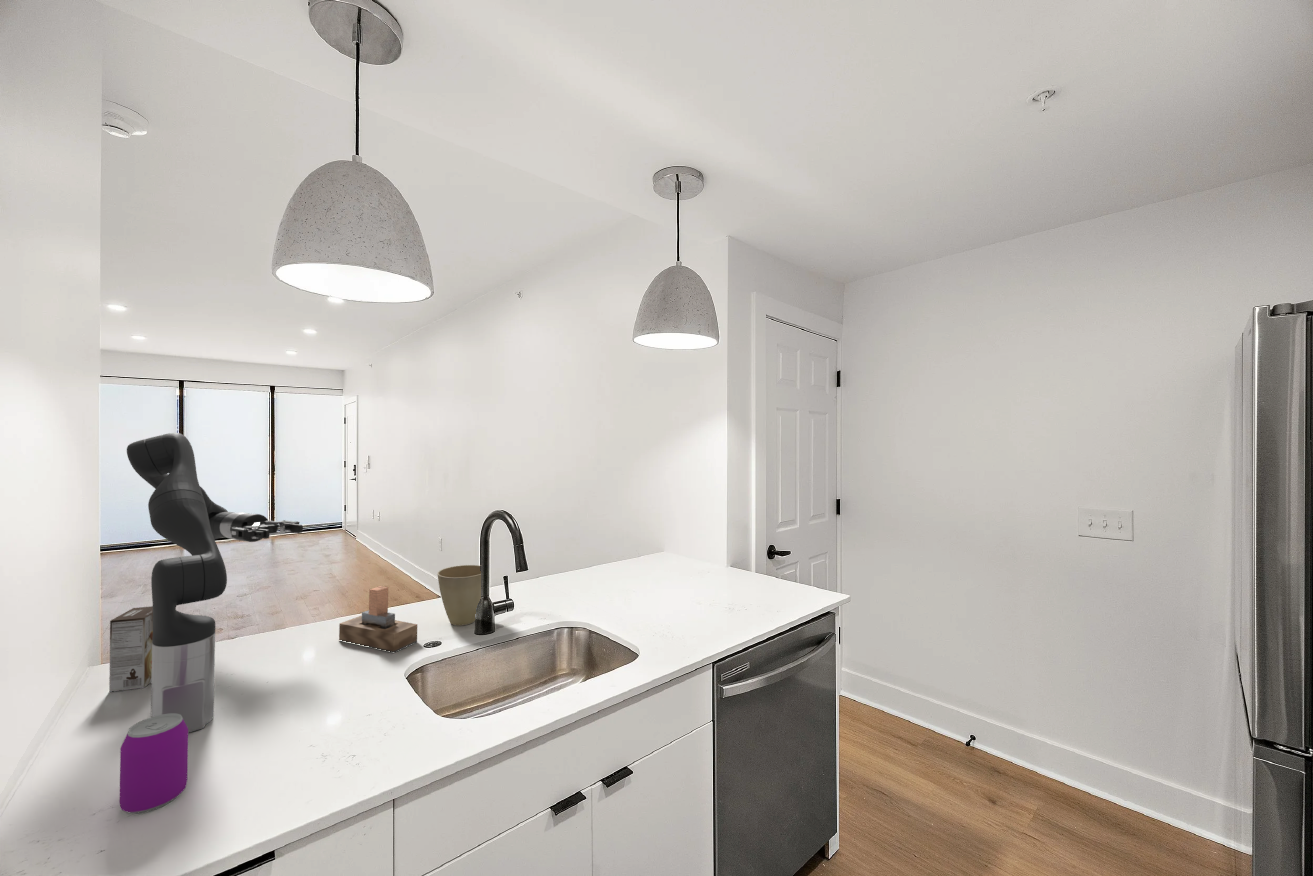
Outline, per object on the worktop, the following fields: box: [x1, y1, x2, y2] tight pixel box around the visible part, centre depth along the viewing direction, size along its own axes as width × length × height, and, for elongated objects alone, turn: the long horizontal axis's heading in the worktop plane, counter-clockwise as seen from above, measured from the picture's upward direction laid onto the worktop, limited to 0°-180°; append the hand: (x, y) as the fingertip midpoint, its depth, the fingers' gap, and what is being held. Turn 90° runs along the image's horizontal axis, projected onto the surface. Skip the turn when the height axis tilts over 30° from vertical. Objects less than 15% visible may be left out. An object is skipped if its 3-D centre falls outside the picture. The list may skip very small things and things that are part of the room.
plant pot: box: [436, 564, 481, 627], centre depth 161 cm, size 15×15×16 cm
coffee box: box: [108, 605, 153, 693], centre depth 119 cm, size 9×6×16 cm
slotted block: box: [338, 615, 418, 653], centre depth 144 cm, size 20×8×5 cm, turn 70°
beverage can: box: [118, 713, 189, 815], centre depth 81 cm, size 8×8×12 cm
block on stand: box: [361, 585, 396, 629], centre depth 144 cm, size 9×4×14 cm, turn 70°
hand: (285, 531), depth 136 cm, fingers open, 8 cm apart
